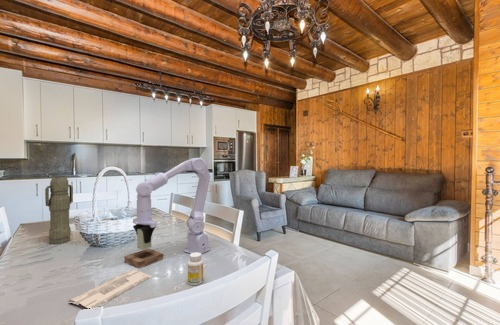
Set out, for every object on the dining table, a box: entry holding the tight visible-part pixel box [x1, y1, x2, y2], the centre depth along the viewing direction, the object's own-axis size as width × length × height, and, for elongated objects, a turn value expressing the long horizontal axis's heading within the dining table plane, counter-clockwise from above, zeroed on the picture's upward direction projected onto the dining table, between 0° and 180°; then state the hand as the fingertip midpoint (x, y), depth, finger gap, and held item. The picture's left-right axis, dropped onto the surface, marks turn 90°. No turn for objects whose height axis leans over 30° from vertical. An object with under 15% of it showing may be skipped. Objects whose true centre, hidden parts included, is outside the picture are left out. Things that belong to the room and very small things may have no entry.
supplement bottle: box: [187, 252, 204, 286], centre depth 83 cm, size 5×5×10 cm
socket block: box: [124, 248, 164, 270], centre depth 102 cm, size 11×11×2 cm
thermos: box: [44, 175, 74, 245], centre depth 127 cm, size 9×12×35 cm
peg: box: [136, 228, 152, 251], centre depth 102 cm, size 4×4×8 cm
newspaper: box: [67, 269, 152, 310], centre depth 79 cm, size 23×12×2 cm, turn 156°
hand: (144, 241), depth 102 cm, fingers closed on peg, 4 cm apart
